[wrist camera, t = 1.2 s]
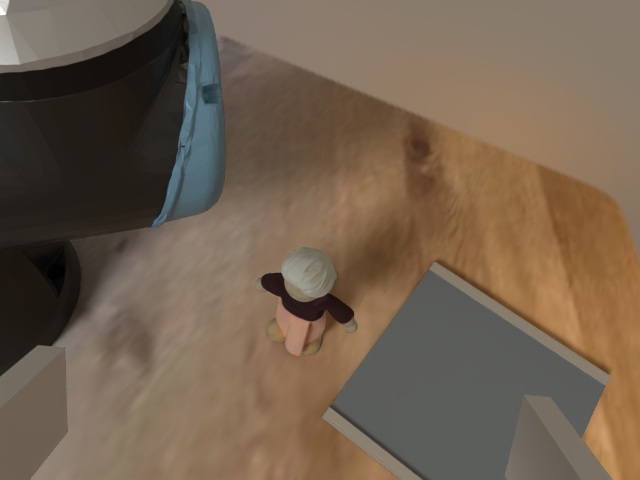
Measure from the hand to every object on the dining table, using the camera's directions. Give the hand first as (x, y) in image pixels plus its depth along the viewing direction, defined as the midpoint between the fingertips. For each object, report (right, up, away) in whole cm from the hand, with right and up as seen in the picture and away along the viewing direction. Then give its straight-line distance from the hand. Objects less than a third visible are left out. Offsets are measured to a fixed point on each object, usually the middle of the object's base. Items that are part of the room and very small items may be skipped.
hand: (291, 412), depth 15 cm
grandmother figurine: (-1, -3, +26) cm, 26 cm away
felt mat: (+12, -7, +24) cm, 28 cm away
